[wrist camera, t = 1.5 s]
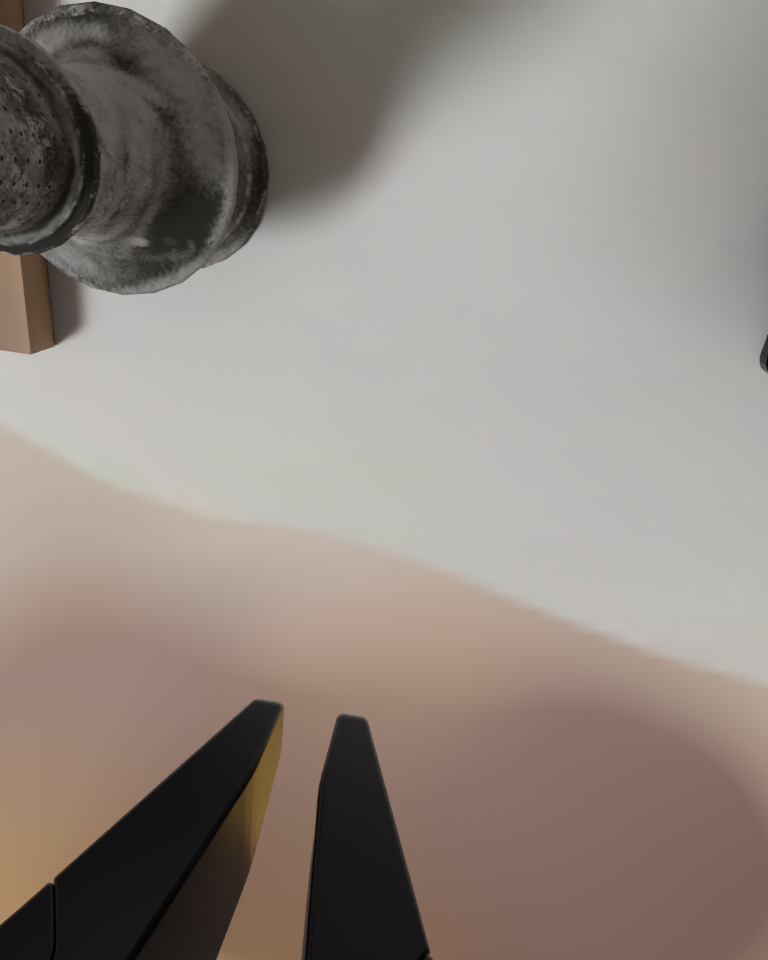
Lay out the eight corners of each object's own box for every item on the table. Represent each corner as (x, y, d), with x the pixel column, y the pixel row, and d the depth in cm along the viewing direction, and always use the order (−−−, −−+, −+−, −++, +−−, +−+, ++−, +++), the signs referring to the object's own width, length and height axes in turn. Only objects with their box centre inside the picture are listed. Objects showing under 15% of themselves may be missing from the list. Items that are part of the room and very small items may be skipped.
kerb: (12, -101, 15) (-23, -125, 14) (54, 346, 20) (30, 354, 19) (-28, -105, 16) (-65, -129, 14) (24, 341, 20) (-2, 349, 19)
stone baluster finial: (58, 36, 17) (-732, -298, 6) (278, 47, 16) (-111, -293, 5) (86, 271, 19) (-429, 362, 8) (279, 287, 18) (14, 404, 8)
